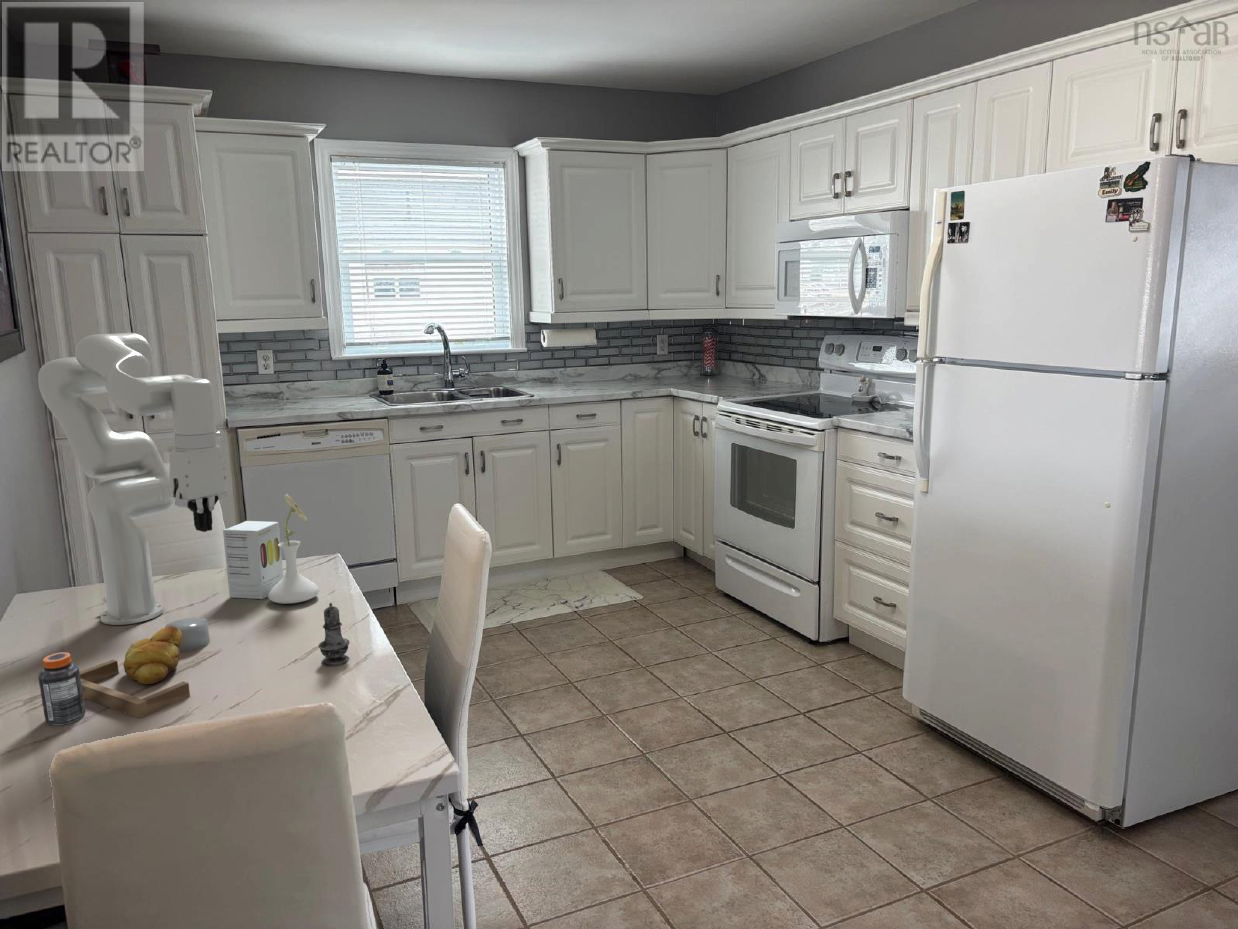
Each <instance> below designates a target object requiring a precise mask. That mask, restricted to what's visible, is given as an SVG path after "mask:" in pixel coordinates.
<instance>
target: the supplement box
mask: <svg viewBox="0 0 1238 929" xmlns="http://www.w3.org/2000/svg"><path fill="white" fill-rule="evenodd" d="M222 534H223V546H224V553H225V554H224V555H225V556H224V557H225V564H226V575H227V583H228V584H227V586H228V593H229V594H228V595H229V598H239V599H254V600H257V599H258V600H264V599H266V598H268V595H269V592H270V590H271V589H272V588H273V587H274V586H275V585H276V584H277V583H278V582H279V581H281V580H282V579H283V578H284V569H283V558H282V549H281V548H280V547H279V546H278V544H279V543H281V537H280V536H281V535H280V525H279V521H264V520H263V521H262V520H259V521H258V520H244V521H243V522H241V523H238V524H235V525H234V526H230V527H228V528H225V529H223V530H222Z"/></svg>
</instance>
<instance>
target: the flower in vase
mask: <svg viewBox="0 0 1238 929" xmlns="http://www.w3.org/2000/svg"><path fill="white" fill-rule="evenodd" d="M284 499H285V500H286V502H287V504H288V505H289V507H290V511H289V513H288V516H287V518H286V521H285V524H283V525H284V529H285V536H284V538H285V539H287V540H286V541H282V542H280V543H279V544H278V546H279V547H280V548H281V552H282V553H283V555H284V559H285V566H286V567H285V568H286V572H285V575H283V579H282V580H281V581H279V582H278V583H277V584H276V585H275V586H274V587H273V588H272V589H271V590H270V592H269V595H268V597H267V598H268V599H269V600H270V601H271V602H273V603H277V604H283V605H284V604H285V605H286V604H297V603H302V602H306V601H309V600H311V599H313V598H314V597H316V596H318V593H319V592H320V589H319V586H318V585H317V584H316V583H314V582H313V581H311V580H309V579H308V578H307V577H304V576H303V575H301V574H300V573H299V571H298V567H297V552H298V549H299V546H300V545H301V541H300V540H289V538H290V537H291V536H292V535H294V534H295V531H293V530H289V529H288V522H289V519H290V517H291V515H292V513H295V514H296V515H297V516H298V517H299V518H300V519H301V520H302V521H303V522H307V520H308V517H307V516H306V514H305V512H303V511H302V510H301V509H300V507H299V506H300V505H299V504H298V503H297V502H295V501H294V499H293V498H292V496H291V495H289V494H288V493H286V494H284Z"/></svg>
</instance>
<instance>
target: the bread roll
mask: <svg viewBox="0 0 1238 929" xmlns="http://www.w3.org/2000/svg"><path fill="white" fill-rule="evenodd" d="M181 639H182V633H181V631H180V630H179V629H178V628H176V627H174V626H168V627H165V626H164V628H161V629H160V630H158V631H156V632H155V633H154V634H152V636H151V637H150V639H149V638H142V639H140V640H139V641H135V642H134V643H131V645H130V646H129V648H128V650H127V651H126V653H125V655H124V661H123V664H122V665H123V670H124V673H125V674H126V676H127V677H128V678H129V679H131V680H134V681H136V682H138V683H139V684H143V685H150V684H151V685H152V684H156V683H159V682H161V681H163V680H164V679H165V678H166V676H167V675H168V674H169V673H171V672H173V671H174V670H175V669H176V668H177V667H178V664H179V662H180V660H179V656H180V653H181V652H180V651H179V649H180V645H181Z"/></svg>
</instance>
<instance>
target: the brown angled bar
mask: <svg viewBox="0 0 1238 929" xmlns="http://www.w3.org/2000/svg"><path fill="white" fill-rule="evenodd" d="M79 672H80V678H81V684H82V691H83V697H84V699H86V700H89V701H91V702H94V703H97V704H100V705H101V706H102V705H103V706H105V707H108V708H110V709H114V710H117V711H119V712H122V713H125V714H128V715H131V716H133V717H135V718H139V719H141V718H144V717H145V716H147V715H149V714H153V713H154V712H156V711H159V710H162V709H163V708H166V707H168V706H171V705H173V704H175V703H177V702H179V701H183V700H184V699H187V698H189V697H190V696H191V693H190V684H189V682H186V681H180V682H178V683H177V684H176V683H175V684H174V685H172V686H169V687H166V688H164V689H161V690H159V691H156V692H154V693H152V694H150V695H147V696H145V697H143V698H139V697H137V696H133V695H130V694H127V693H124V692H121V691H118V690H117V689H116V690H115V689H112V688H110V687H106V686H103V685H100V684H97V682H100V681H103V680H104V679H107V678H110V677H113V676H115V675H118V674H120V671H119V663H118V660H115V659H110V660H108V661H105V662H102V663H100V664H97V665H96V664H95V665H94V666H91V667H88V668H85V669H82V670H81V671H80V670H79Z"/></svg>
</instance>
